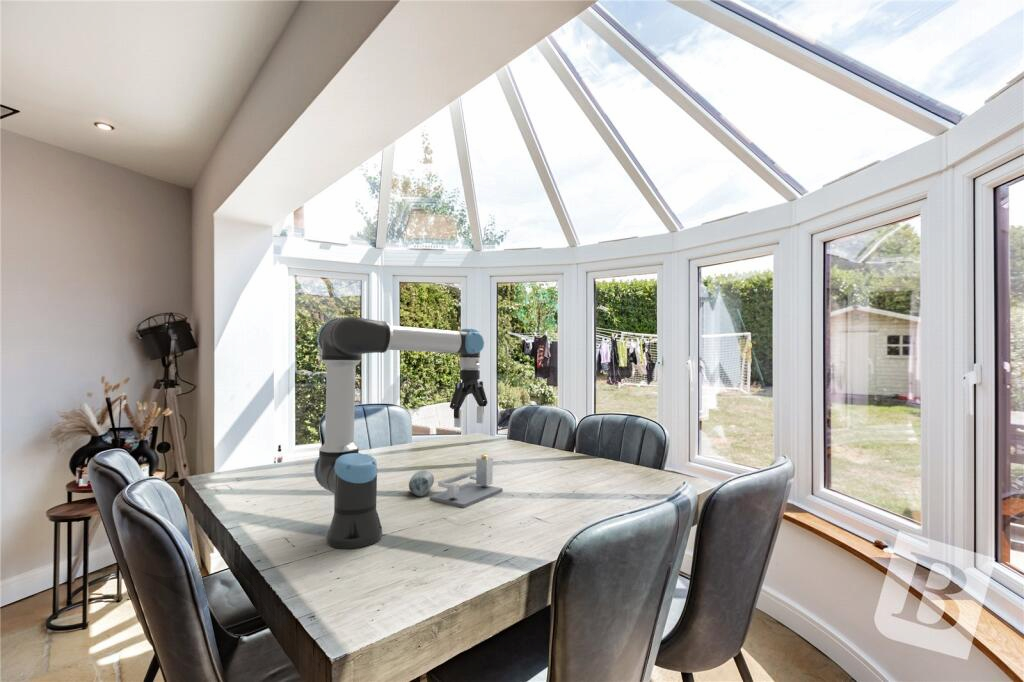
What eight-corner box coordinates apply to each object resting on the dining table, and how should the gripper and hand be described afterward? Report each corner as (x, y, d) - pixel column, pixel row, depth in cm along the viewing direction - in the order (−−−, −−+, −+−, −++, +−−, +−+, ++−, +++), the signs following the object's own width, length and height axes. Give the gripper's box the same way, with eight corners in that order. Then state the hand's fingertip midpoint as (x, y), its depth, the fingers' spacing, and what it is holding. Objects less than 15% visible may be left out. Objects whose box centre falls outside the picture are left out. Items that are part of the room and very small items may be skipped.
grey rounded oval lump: (432, 490, 174) (422, 464, 177) (409, 501, 174) (399, 476, 177) (442, 489, 187) (433, 465, 190) (421, 499, 187) (412, 476, 190)
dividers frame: (453, 500, 168) (453, 486, 168) (435, 496, 173) (435, 482, 173) (491, 485, 188) (491, 472, 188) (474, 482, 192) (474, 469, 193)
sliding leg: (486, 488, 183) (486, 457, 183) (468, 484, 188) (468, 454, 188) (492, 485, 186) (492, 455, 187) (474, 482, 191) (474, 452, 191)
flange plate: (463, 507, 164) (464, 504, 164) (429, 499, 173) (429, 496, 173) (502, 491, 184) (502, 488, 184) (470, 484, 193) (470, 481, 193)
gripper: (456, 370, 167) (455, 430, 167) (496, 368, 188) (496, 422, 187) (440, 369, 171) (439, 428, 171) (481, 368, 192) (480, 420, 192)
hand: (469, 425), depth 179 cm, fingers open, 13 cm apart
